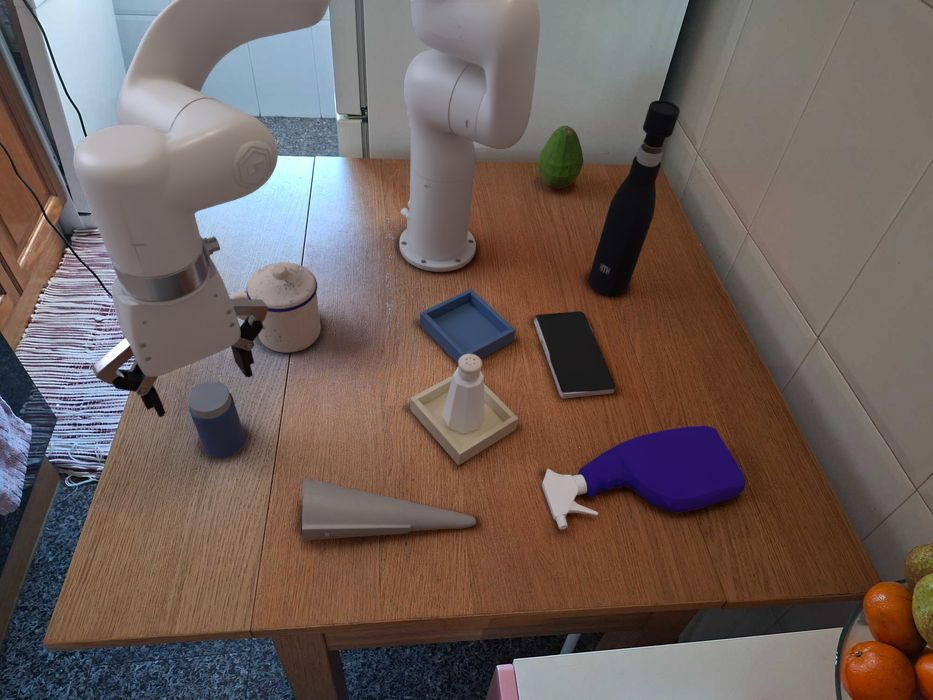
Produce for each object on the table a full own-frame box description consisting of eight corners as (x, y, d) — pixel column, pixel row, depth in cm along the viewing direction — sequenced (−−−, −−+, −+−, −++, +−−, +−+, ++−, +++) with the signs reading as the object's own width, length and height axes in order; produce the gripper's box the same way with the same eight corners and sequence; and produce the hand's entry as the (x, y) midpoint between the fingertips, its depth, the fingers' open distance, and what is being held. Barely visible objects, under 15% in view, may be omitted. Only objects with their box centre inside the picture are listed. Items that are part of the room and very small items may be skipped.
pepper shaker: (197, 437, 79) (178, 391, 72) (234, 419, 81) (220, 373, 74) (213, 465, 76) (196, 420, 70) (251, 445, 79) (238, 400, 72)
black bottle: (626, 272, 106) (686, 98, 84) (629, 299, 102) (693, 122, 80) (587, 268, 106) (637, 92, 84) (588, 294, 102) (642, 116, 80)
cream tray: (409, 409, 84) (410, 397, 82) (466, 378, 88) (467, 366, 87) (458, 465, 79) (459, 454, 77) (515, 429, 83) (518, 418, 81)
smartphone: (561, 394, 87) (533, 314, 96) (559, 399, 87) (531, 320, 97) (617, 388, 88) (584, 310, 98) (615, 393, 89) (582, 316, 99)
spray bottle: (710, 416, 84) (532, 452, 78) (757, 489, 77) (565, 534, 71) (703, 429, 86) (529, 465, 80) (747, 501, 79) (560, 546, 73)
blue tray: (419, 324, 95) (419, 312, 93) (469, 300, 99) (471, 288, 97) (462, 369, 90) (464, 357, 88) (513, 341, 94) (516, 329, 92)
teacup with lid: (324, 309, 95) (317, 246, 87) (320, 355, 89) (312, 293, 80) (241, 308, 94) (225, 245, 85) (230, 355, 88) (212, 292, 79)
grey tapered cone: (474, 465, 74) (303, 468, 70) (481, 518, 71) (301, 526, 66) (465, 485, 79) (303, 490, 75) (471, 536, 75) (302, 544, 71)
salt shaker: (484, 435, 82) (493, 380, 74) (441, 433, 81) (446, 377, 73) (483, 402, 85) (493, 345, 77) (443, 399, 85) (447, 342, 77)
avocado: (533, 193, 120) (543, 134, 111) (536, 171, 125) (547, 112, 116) (575, 200, 119) (590, 141, 110) (577, 177, 125) (591, 119, 116)
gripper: (235, 215, 64) (260, 336, 76) (45, 276, 56) (107, 400, 68) (271, 256, 60) (291, 376, 73) (72, 328, 52) (133, 449, 64)
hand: (202, 387), depth 70 cm, fingers open, 9 cm apart
